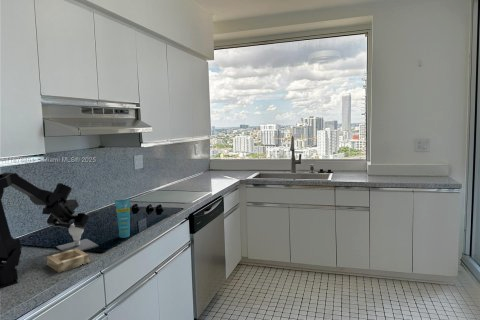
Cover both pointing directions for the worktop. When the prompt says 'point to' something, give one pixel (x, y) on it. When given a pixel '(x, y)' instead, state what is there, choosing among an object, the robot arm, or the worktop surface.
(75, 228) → the lightbulb
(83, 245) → the mat
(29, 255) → the worktop surface
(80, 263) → the holder block
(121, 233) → the tube
